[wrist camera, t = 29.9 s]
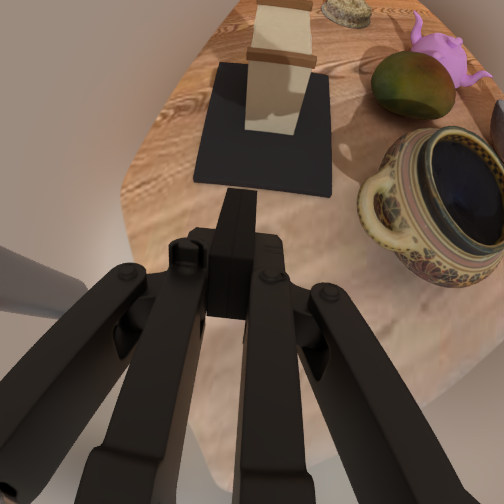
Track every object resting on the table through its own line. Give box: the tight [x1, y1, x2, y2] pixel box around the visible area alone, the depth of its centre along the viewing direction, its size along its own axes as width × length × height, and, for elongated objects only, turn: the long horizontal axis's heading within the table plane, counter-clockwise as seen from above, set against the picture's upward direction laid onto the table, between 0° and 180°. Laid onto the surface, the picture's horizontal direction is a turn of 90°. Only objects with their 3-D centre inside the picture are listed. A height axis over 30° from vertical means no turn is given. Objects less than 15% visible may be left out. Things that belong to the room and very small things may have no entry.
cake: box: [321, 0, 372, 29], centre depth 45 cm, size 10×10×5 cm
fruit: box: [371, 51, 456, 120], centre depth 37 cm, size 12×13×10 cm
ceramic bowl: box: [357, 126, 504, 288], centre depth 30 cm, size 24×18×15 cm
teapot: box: [410, 11, 493, 88], centre depth 41 cm, size 12×14×9 cm
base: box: [193, 0, 332, 198], centre depth 32 cm, size 16×20×14 cm
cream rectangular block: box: [245, 26, 317, 135], centre depth 32 cm, size 6×6×13 cm
